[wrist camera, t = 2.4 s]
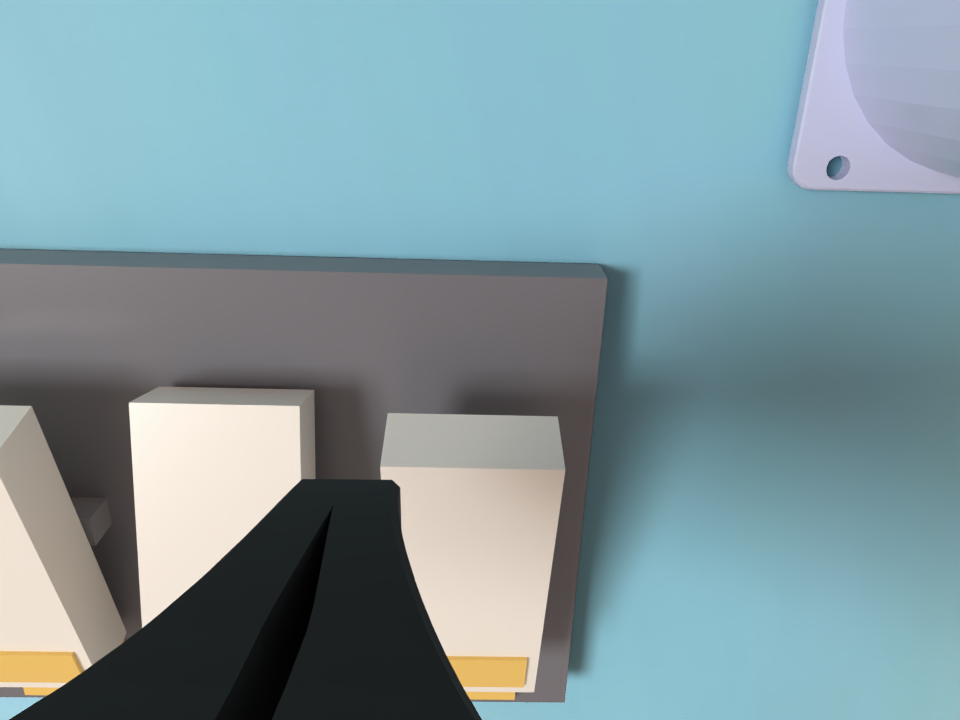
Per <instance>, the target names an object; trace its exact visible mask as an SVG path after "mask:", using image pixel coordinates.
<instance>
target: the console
mask: <svg viewBox="0 0 960 720" xmlns="http://www.w3.org/2000/svg"><path fill="white" fill-rule="evenodd" d="M607 282H608V278H607V276H606V275H605V273H604V271H603V270H602V268H601V266H600V264H580V263H540V262H501V261H461V260H422V259H382V258H343V257H303V256H264V255H224V254H185V253H145V252H106V251H66V250H27V249H0V405H9V406H32V408H33V411H34V413H35V415H36V418H37V420H38V422H39V425H40V427H41V430H42V432H43V434H44V437H45V439H46V441H47V444H48V446H49V449H50V451H51V453H52V456H53V458H54V460H55V463H56V465H57V468H58V470H59V472H60V475H61V477H62V480H63V482H64V484H65V487H66V489H67V491H68V494H69V496H70V499H71V501H72V503H73V506H74V508H75V510H76V513H77V515H78V518H79V520H80V522H81V525H82V527H83V529H84V532H85V534H86V537H87V539H88V541H89V544H90V546H91V549H92V551H93V553H94V556H95V558H96V560H97V563H98V565H99V568H100V570H101V572H102V575H103V577H104V579H105V582H106V584H107V587H108V589H109V591H110V594H111V596H112V598H113V601H114V603H115V606H116V608H117V610H118V613H119V615H120V618H121V620H122V622H123V625H124V627H125V629H126V632H127V633H126V635H125V638H124V640H123V642H125V641H126V640H127V639H129V638H130V637H131V636H132V635H134V634H135V633H136V632H138V631H139V630H140V629H142V618H141V602H140V585H139V568H138V551H137V534H136V517H135V500H134V484H133V467H132V450H131V433H130V416H129V402H131V401H133V400H135V399H136V398H138V397H140V396H142V395H144V394H146V393H148V392H150V391H152V390H154V389H155V388H157V387H206V388H254V389H303V390H314V404H315V476H316V479H362V480H381V472H380V464H381V457H382V450H383V443H384V436H385V429H386V422H387V415H388V413H412V414H463V415H513V416H558V421H559V428H560V436H561V443H562V450H563V457H564V464H565V476H564V484H563V491H562V498H561V505H560V512H559V519H558V526H557V533H556V540H555V547H554V555H553V562H552V569H551V576H550V583H549V590H548V597H547V604H546V611H545V618H544V626H543V633H542V640H541V647H540V654H539V661H538V668H537V675H536V682H535V690H534V692H466V693H467V695H468V697H469V698H470V700H471V701H475V702H565V693H566V683H567V673H568V664H569V654H570V644H571V634H572V625H573V615H574V605H575V595H576V585H577V576H578V566H579V556H580V546H581V537H582V527H583V517H584V507H585V497H586V488H587V478H588V468H589V458H590V449H591V439H592V429H593V419H594V409H595V400H596V390H597V380H598V370H599V360H600V351H601V341H602V331H603V321H604V312H605V302H606V292H607ZM123 642H122V643H123ZM57 689H58V688H46V687H0V697H46V696H47V695H49V694H51V693H52V692H54V691H55V690H57Z"/></svg>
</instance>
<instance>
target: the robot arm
mask: <svg viewBox="0 0 960 720" xmlns="http://www.w3.org/2000/svg"><path fill="white" fill-rule="evenodd" d="M837 156H840V158H841V159H842V166H841V169H840V171H839V172H838V173H837V174H835V175H834V176H831V177H829V176H828V175H827V172H826V167H827V165H828V163H829V161H830V160H832V159H833V158H834V157H837ZM788 175H789V177H790V179H791V181H792V182H794V183H795V184H796V185H797V186H800V187H802V188H806V189H810V190H841V191H877V192H912V193H947V194H960V0H819V1H818V6H817V11H816V17H815V22H814V27H813V32H812V38H811V43H810V48H809V54H808V59H807V64H806V69H805V75H804V80H803V85H802V91H801V96H800V101H799V106H798V112H797V117H796V122H795V127H794V133H793V138H792V143H791V149H790V154H789V159H788ZM10 720H482V719H481V718H480V716H479V714H478V712H477V711H476V709H475V707H474V705H473V704H472V702H471V700H470V698H469V697H468V695H467V693H466V691H465V690H464V688H463V686H462V684H461V683H460V681H459V679H458V677H457V675H456V673H455V671H454V669H453V667H452V665H451V663H450V661H449V659H448V658H447V656H446V653H445V651H444V649H443V647H442V645H441V643H440V641H439V639H438V636H437V634H436V632H435V630H434V627H433V625H432V623H431V620H430V618H429V615H428V613H427V610H426V608H425V606H424V603H423V601H422V598H421V595H420V592H419V590H418V587H417V584H416V581H415V578H414V575H413V572H412V568H411V565H410V562H409V559H408V555H407V552H406V548H405V544H404V540H403V536H402V530H401V496H400V487H399V486H398V485H397V484H396V483H395V482H394V481H393V480H362V479H302V480H301V481H300V482H299V483H298V484H296V485H295V486H294V487H293V488H292V489H291V490H290V491H289V492H288V493H287V494H286V495H285V496H284V497H283V498H282V499H281V500H280V501H279V502H278V503H277V504H276V505H275V506H274V507H273V508H272V509H271V510H270V511H269V512H268V514H267V515H266V516H265V517H264V518H263V519H262V520H261V521H260V522H259V523H258V524H257V525H256V526H255V527H254V528H253V529H252V530H251V531H250V532H249V533H248V534H247V535H246V536H245V537H244V538H243V539H242V540H241V541H240V542H238V543H237V544H236V545H235V546H234V547H233V548H232V549H231V550H230V551H229V552H228V553H227V554H226V555H225V556H224V557H223V558H222V559H221V560H220V561H219V562H218V563H216V564H215V565H214V566H213V567H212V568H211V569H210V570H209V571H208V572H207V573H206V574H205V575H204V576H203V577H202V578H200V579H199V580H198V581H197V582H196V583H195V584H194V585H192V586H191V587H190V588H189V589H188V590H187V591H185V592H184V593H183V594H182V595H181V596H180V597H179V598H177V599H176V600H175V601H174V602H173V603H172V604H170V605H169V606H168V607H167V608H166V609H165V610H163V611H162V612H161V613H160V614H159V615H158V616H157V617H155V618H154V619H153V620H152V621H150V622H149V623H148V624H147V625H145V626H144V627H143V628H142V629H140V630H139V631H138V632H136V633H135V634H134V635H132V636H131V637H130V638H129V639H127V640H126V641H125V642H123V643H122V644H121V645H119V646H118V647H117V648H115V649H114V650H112V651H111V652H110V653H108V654H107V655H106V656H104V657H103V658H101V659H100V660H99V661H97V662H96V663H94V664H93V665H92V666H90V667H89V668H88V669H86V670H85V671H83V672H82V673H81V674H79V675H78V676H76V677H75V678H73V679H72V680H70V681H69V682H68V683H66V684H65V685H63V686H62V687H60V688H58V689H57V690H55V691H54V692H52V693H51V694H49V695H47V696H46V697H44V698H43V699H41V700H40V701H38V702H36V703H35V704H33V705H32V706H30V707H28V708H27V709H25V710H24V711H22V712H21V713H19V714H17V715H16V716H14V717H13V718H11V719H10Z"/></svg>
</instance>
